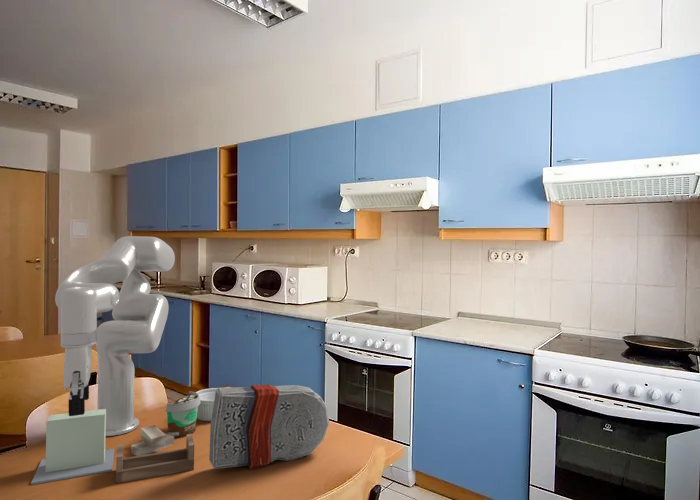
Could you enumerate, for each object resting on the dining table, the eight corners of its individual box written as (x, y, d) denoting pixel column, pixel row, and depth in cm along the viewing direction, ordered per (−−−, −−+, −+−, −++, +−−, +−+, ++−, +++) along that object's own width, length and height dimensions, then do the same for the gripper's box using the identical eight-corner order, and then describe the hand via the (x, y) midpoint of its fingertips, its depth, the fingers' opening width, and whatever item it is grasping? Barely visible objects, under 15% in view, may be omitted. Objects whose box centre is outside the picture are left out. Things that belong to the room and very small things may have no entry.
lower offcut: (130, 455, 117) (131, 445, 117) (165, 441, 125) (165, 432, 125) (139, 459, 115) (140, 449, 115) (174, 445, 123) (174, 436, 123)
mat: (41, 461, 111) (41, 459, 111) (114, 450, 118) (114, 448, 118) (31, 484, 100) (31, 482, 100) (112, 471, 107) (112, 469, 107)
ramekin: (197, 408, 150) (197, 387, 150) (237, 407, 152) (238, 387, 151) (187, 423, 137) (187, 401, 137) (231, 423, 138) (232, 400, 138)
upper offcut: (151, 448, 115) (151, 438, 115) (140, 437, 122) (141, 428, 122) (165, 444, 118) (165, 435, 118) (154, 434, 124) (154, 425, 124)
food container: (185, 442, 124) (185, 406, 124) (165, 440, 125) (165, 404, 125) (207, 425, 136) (208, 392, 136) (189, 423, 137) (190, 390, 137)
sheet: (48, 464, 109) (49, 415, 109) (105, 456, 114) (106, 408, 114) (45, 472, 105) (46, 421, 105) (103, 463, 110) (104, 414, 110)
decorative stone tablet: (219, 392, 105) (334, 388, 119) (214, 384, 111) (324, 381, 124) (210, 476, 104) (327, 462, 118) (205, 464, 110) (317, 452, 124)
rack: (117, 469, 108) (117, 444, 108) (190, 457, 115) (191, 433, 115) (115, 483, 102) (116, 457, 102) (193, 469, 109) (194, 444, 109)
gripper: (66, 331, 116) (66, 396, 116) (54, 348, 100) (55, 424, 101) (99, 329, 119) (99, 393, 120) (93, 345, 103) (93, 418, 104)
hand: (79, 407), depth 110 cm, fingers open, 9 cm apart
